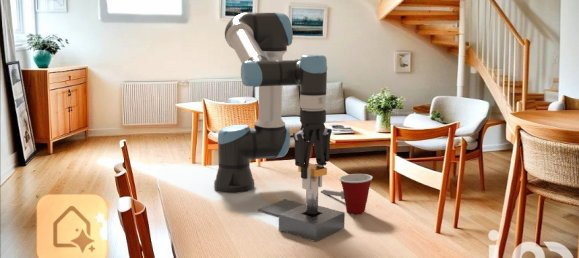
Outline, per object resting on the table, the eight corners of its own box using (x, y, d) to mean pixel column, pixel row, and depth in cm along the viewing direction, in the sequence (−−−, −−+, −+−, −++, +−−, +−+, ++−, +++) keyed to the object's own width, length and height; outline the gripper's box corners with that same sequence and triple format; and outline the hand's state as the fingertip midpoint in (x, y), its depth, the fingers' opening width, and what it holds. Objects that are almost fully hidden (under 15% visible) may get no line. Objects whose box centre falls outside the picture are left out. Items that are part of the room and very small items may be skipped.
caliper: (354, 208, 185) (355, 190, 184) (352, 208, 185) (352, 190, 184) (323, 192, 203) (323, 175, 202) (320, 192, 202) (320, 176, 201)
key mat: (257, 210, 181) (257, 208, 181) (285, 200, 192) (285, 199, 192) (295, 221, 171) (295, 219, 171) (321, 210, 182) (321, 208, 182)
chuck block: (278, 230, 164) (278, 214, 163) (307, 218, 174) (307, 203, 174) (316, 241, 155) (316, 225, 154) (344, 228, 166) (344, 212, 165)
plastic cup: (345, 204, 188) (346, 170, 186) (376, 209, 183) (377, 174, 181) (333, 214, 178) (333, 178, 176) (364, 219, 174) (365, 182, 171)
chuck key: (298, 210, 165) (298, 164, 163) (307, 207, 168) (308, 162, 165) (316, 217, 159) (316, 170, 157) (326, 214, 162) (326, 167, 159)
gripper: (299, 113, 150) (298, 195, 154) (343, 107, 161) (341, 185, 165) (281, 110, 156) (281, 189, 160) (325, 105, 166) (324, 179, 171)
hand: (312, 187), depth 162 cm, fingers closed on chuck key, 4 cm apart
